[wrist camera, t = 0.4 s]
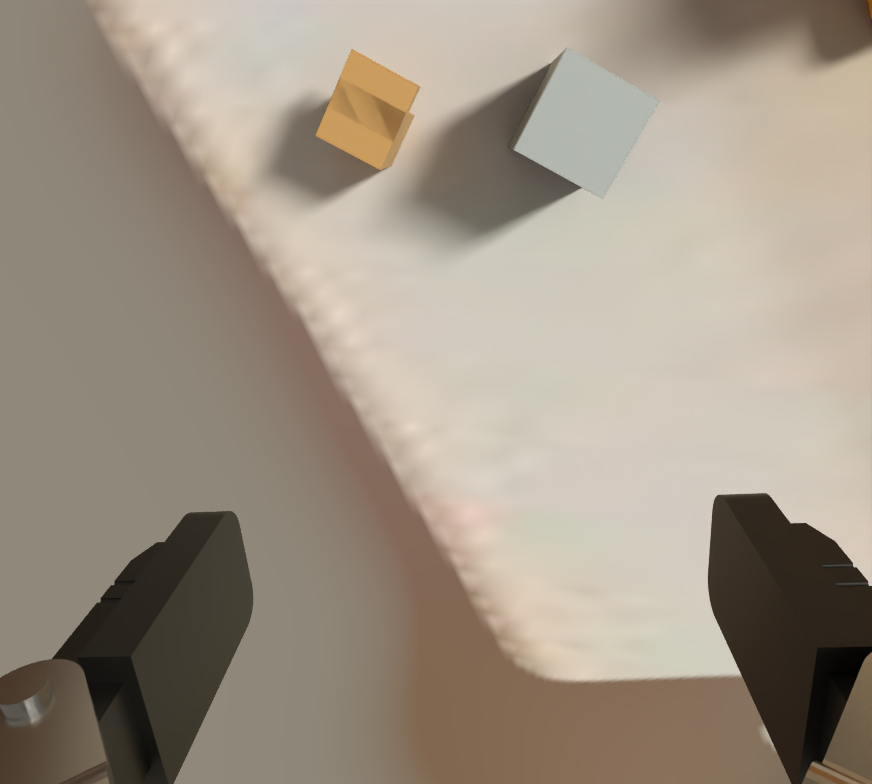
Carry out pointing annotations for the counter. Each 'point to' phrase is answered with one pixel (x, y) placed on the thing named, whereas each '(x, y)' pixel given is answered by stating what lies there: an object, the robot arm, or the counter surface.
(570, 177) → the block
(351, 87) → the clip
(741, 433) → the counter surface
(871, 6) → the bracket
